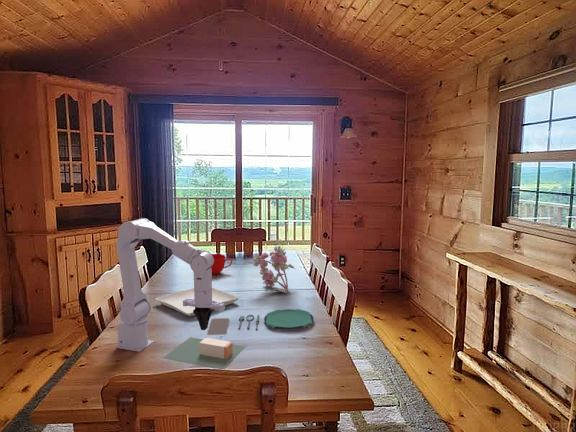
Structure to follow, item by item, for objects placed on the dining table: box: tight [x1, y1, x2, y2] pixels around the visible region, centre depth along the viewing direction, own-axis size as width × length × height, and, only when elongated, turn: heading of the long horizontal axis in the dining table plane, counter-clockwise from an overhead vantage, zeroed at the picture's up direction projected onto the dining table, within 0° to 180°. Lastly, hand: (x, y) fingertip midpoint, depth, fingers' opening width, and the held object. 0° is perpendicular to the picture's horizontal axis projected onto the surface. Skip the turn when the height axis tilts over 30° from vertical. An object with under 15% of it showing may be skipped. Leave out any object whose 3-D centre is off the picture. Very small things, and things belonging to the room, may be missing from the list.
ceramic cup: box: [208, 253, 233, 276], centre depth 225 cm, size 13×17×10 cm
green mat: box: [162, 337, 246, 370], centre depth 131 cm, size 22×16×1 cm
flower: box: [249, 245, 296, 295], centre depth 196 cm, size 20×22×25 cm
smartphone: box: [206, 317, 231, 336], centre depth 152 cm, size 7×1×15 cm
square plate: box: [154, 287, 240, 317], centre depth 176 cm, size 27×27×4 cm
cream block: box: [199, 337, 233, 359], centre depth 130 cm, size 4×4×10 cm
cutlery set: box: [237, 308, 315, 331], centre depth 157 cm, size 20×30×2 cm, turn 92°
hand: (204, 328), depth 130 cm, fingers closed
